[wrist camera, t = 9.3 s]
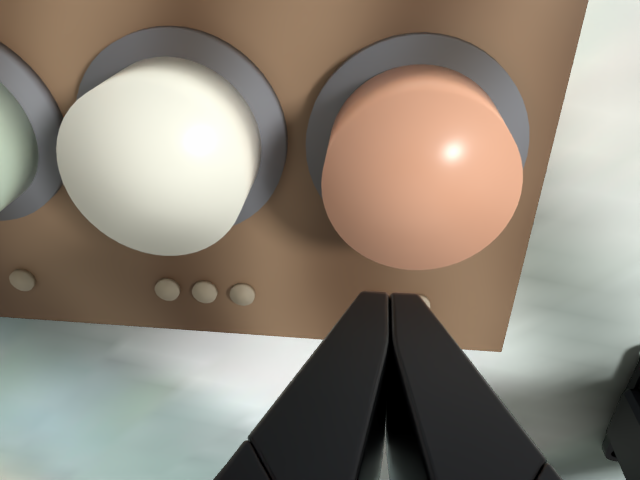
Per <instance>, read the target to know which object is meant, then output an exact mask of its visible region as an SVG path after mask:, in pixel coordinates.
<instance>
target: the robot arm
mask: <svg viewBox="0 0 640 480" xmlns="http://www.w3.org/2000/svg"><path fill="white" fill-rule="evenodd" d="M385 422H386V450H387V461H388V470H389V479H390V480H563V479H562V478H561V477H560V475H559V474H558V473H557V471H556V470H555V469H554V467H553V466H552V465H551V464H549V463H546V462H547V460H546V457H545V456H544V455H543V454H542V452H541V451H540V450H539V448H538V447H537V446H536V445H535V443H534V442H533V441H532V439H531V438H530V437H529V436H528V434H527V433H526V432H525V430H524V429H523V428H522V427H521V425H520V424H519V423H518V421H517V420H516V419H515V418H514V416H513V415H512V414H511V412H510V411H509V410H508V409H507V407H506V406H505V405H504V403H503V402H502V401H501V400H500V398H499V397H498V396H497V394H496V393H495V392H494V391H493V389H492V388H491V387H490V385H489V384H488V383H487V382H486V380H485V379H484V378H483V376H482V375H481V374H480V373H479V371H478V370H477V369H476V367H475V366H474V365H473V364H472V362H471V361H470V360H469V358H468V357H467V356H466V354H465V353H464V352H463V351H462V349H461V348H460V347H459V345H458V344H457V343H456V342H455V340H454V339H453V338H452V336H451V335H450V334H449V333H448V331H447V330H446V329H445V327H444V326H443V325H442V324H441V322H440V321H439V320H438V318H437V317H436V316H435V315H434V313H433V312H432V311H431V309H430V308H429V307H428V306H427V304H426V303H425V302H424V300H423V299H422V298H421V297H420V295H418V294H417V293H402V292H393V293H391V295H390V299H389V294H388V293H387V292H379V291H362V292H361V293H360V294H359V295H358V296H357V297H356V299H355V300H354V301H353V303H352V304H351V305H350V306H349V308H348V309H347V310H346V312H345V313H344V314H343V315H342V317H341V318H340V319H339V321H338V322H337V323H336V324H335V326H334V327H333V328H332V330H331V331H330V332H329V333H328V335H327V336H326V337H325V338H324V340H323V341H322V342H321V344H320V345H319V346H318V347H317V349H316V350H315V351H314V353H313V354H312V355H311V356H310V358H309V359H308V360H307V362H306V363H305V364H304V365H303V367H302V368H301V369H300V371H299V372H298V373H297V374H296V376H295V377H294V378H293V380H292V381H291V382H290V383H289V385H288V386H287V387H286V388H285V390H284V391H283V392H282V394H281V395H280V396H279V397H278V399H277V400H276V401H275V403H274V404H273V405H272V406H271V408H270V409H269V410H268V412H267V413H266V414H265V415H264V417H263V418H262V419H261V421H260V422H259V423H258V424H257V426H256V427H255V428H254V429H253V431H252V432H251V433H250V435H249V436H248V441H244V442H243V443H242V444H241V446H240V447H239V448H238V450H237V451H236V452H235V453H234V455H233V456H232V457H231V459H230V460H229V461H228V462H227V464H226V465H225V466H224V467H223V469H222V470H221V471H220V472H219V473H218V475H217V476H216V477H215V478H214V479H213V480H379V478H380V471H381V464H382V458H383V449H384V440H385ZM606 433H607V435H606V437H605V440H604V442H603V444H602V449H603V452H604V454H605V456H606V458H607V459H609V460H612V461H618V462H619V464H620V466H621V469H622V471H623V474H624V476H625V478H626V480H640V359H639V361H638V364H637V366H636V368H635V370H634V373H633V375H632V377H631V380H630V382H629V384H628V387H627V389H626V390H625V391H624V393H623V394H622V396H621V398H620V401H619V403H618V405H617V407H616V410H615V412H614V414H613V417H612V419H611V421H610V424H609V426H608V428H607V431H606Z"/></svg>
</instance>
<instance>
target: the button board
mask: <svg viewBox="0 0 640 480" xmlns="http://www.w3.org/2000/svg"><path fill="white" fill-rule="evenodd" d="M587 4H588V0H0V82H1V83H2V84H3V85H4V86H5V87H6V88H7V89H8V90H9V91H10V92H11V93H12V95H13V96H14V97H15V98H16V100H17V101H18V102H19V104H20V105H21V106H22V108H23V110H24V111H25V113H26V115H27V116H28V119H29V121H30V123H31V125H32V127H33V130H34V133H35V136H36V140H37V145H38V154H39V158H38V167H37V172H36V175H35V177H34V179H33V181H32V183H31V184H30V186H29V187H28V188H27V189H26V191H25V192H24V193H22V194H21V195H20V196H19V197H17V198H16V199H15V200H14V201H13V202H11V203H10V204H9V205H8V206H6V207H5V208H4V209H3V210H1V211H0V317H11V318H25V319H40V320H54V321H68V322H82V323H97V324H111V325H125V326H139V327H153V328H168V329H182V330H196V331H210V332H224V333H239V334H253V335H267V336H281V337H295V338H310V339H324V338H325V337H326V336H327V335H328V333H329V332H330V331H331V330H332V328H333V327H334V326H335V324H336V323H337V322H338V321H339V319H340V318H341V317H342V315H343V314H344V313H345V312H346V310H347V309H348V308H349V306H350V305H351V304H352V303H353V301H354V300H355V299H356V297H357V296H358V295H359V294H360V293H361V292H362V291H379V292H387V293H388V294H389V299H390V295H391V293H393V292H402V293H417V294H418V295H420V297H421V298H422V299H423V300H424V302H425V303H426V304H427V306H428V307H429V308H430V309H431V311H432V312H433V313H434V315H435V316H436V317H437V318H438V320H439V321H440V322H441V324H442V325H443V326H444V327H445V329H446V330H447V331H448V333H449V334H450V335H451V336H452V338H453V339H454V340H455V342H456V343H457V344H458V345H459V347H460V348H461V349H466V350H480V351H494V352H501V351H502V347H503V343H504V339H505V335H506V331H507V327H508V323H509V319H510V315H511V311H512V307H513V303H514V299H515V295H516V291H517V287H518V283H519V279H520V275H521V270H522V266H523V262H524V258H525V254H526V250H527V246H528V242H529V238H530V234H531V230H532V226H533V222H534V218H535V214H536V210H537V206H538V202H539V198H540V194H541V190H542V186H543V182H544V178H545V174H546V170H547V166H548V161H549V157H550V153H551V149H552V145H553V141H554V137H555V133H556V129H557V125H558V121H559V117H560V113H561V109H562V105H563V101H564V97H565V93H566V89H567V85H568V81H569V77H570V73H571V69H572V65H573V61H574V56H575V52H576V48H577V44H578V40H579V36H580V32H581V28H582V24H583V20H584V16H585V12H586V8H587ZM153 57H178V58H183V59H187V60H191V61H194V62H196V63H199V64H202V65H204V66H206V67H208V68H210V69H212V70H213V71H215V72H216V73H218V74H219V75H221V76H222V77H224V78H225V79H226V80H227V81H228V82H229V83H231V84H232V85H233V86H234V87H235V88H236V90H237V91H238V92H239V93H240V94H241V95H242V97H243V98H244V99H245V101H246V102H247V104H248V105H249V107H250V109H251V111H252V113H253V114H254V117H255V119H256V122H257V124H258V128H259V132H260V137H261V145H262V151H261V162H260V167H259V170H258V173H257V176H256V178H255V180H254V183H253V185H252V187H251V189H250V191H249V194H248V196H247V198H246V200H245V202H244V205H243V207H242V209H241V211H240V213H239V215H238V217H237V219H236V221H235V223H234V224H233V226H232V227H231V229H230V230H229V231H228V232H227V233H226V234H225V235H224V236H223V237H222V238H221V239H220V240H219V241H217V242H216V243H215V244H213V245H211V246H209V247H207V248H205V249H203V250H200V251H198V252H194V253H190V254H186V255H177V256H163V255H154V254H149V253H145V252H141V251H138V250H135V249H132V248H129V247H127V246H125V245H123V244H120V243H118V242H117V241H115V240H113V239H111V238H110V237H108V236H107V235H105V234H104V233H103V232H101V231H100V230H99V229H97V228H96V227H95V226H94V225H93V224H92V223H90V222H89V221H88V219H87V218H86V217H85V216H84V215H83V214H82V213H81V212H80V211H79V209H78V208H77V207H76V205H75V204H74V202H73V201H72V199H71V198H70V196H69V194H68V192H67V190H66V188H65V186H64V184H63V182H62V179H61V176H60V173H59V168H58V163H57V153H56V146H57V137H58V132H59V128H60V126H61V123H62V121H63V118H64V116H65V115H66V113H67V112H68V110H69V109H70V107H71V106H72V105H73V104H74V103H75V102H76V101H77V100H78V99H79V98H80V97H82V96H83V95H84V94H86V93H87V92H89V91H90V90H92V89H93V88H95V87H96V86H98V85H99V84H101V83H102V82H104V81H106V80H107V79H109V78H110V77H112V76H113V75H115V74H116V73H118V72H119V71H121V70H123V69H124V68H126V67H128V66H129V65H131V64H133V63H135V62H138V61H141V60H144V59H148V58H153ZM416 64H427V65H437V66H441V67H445V68H449V69H452V70H454V71H457V72H459V73H461V74H463V75H465V76H467V77H468V78H470V79H471V80H473V81H474V82H475V83H477V84H478V85H479V86H480V87H481V88H482V89H483V90H484V91H485V92H486V93H487V94H488V96H489V97H490V98H491V100H492V101H493V103H494V104H495V106H496V108H497V110H498V112H499V113H500V115H501V117H502V119H503V120H504V122H505V124H506V126H507V128H508V129H509V131H510V133H511V135H512V137H513V139H514V141H515V143H516V145H517V147H518V150H519V153H520V156H521V161H522V168H523V184H522V191H521V196H520V199H519V202H518V206H517V208H516V210H515V212H514V214H513V216H512V218H511V220H510V221H509V223H508V224H507V226H506V227H505V228H504V230H503V231H502V232H501V233H500V234H499V236H498V237H497V238H496V239H495V240H493V241H492V242H491V243H490V244H489V245H488V246H487V247H485V248H484V249H482V250H481V251H480V252H478V253H476V254H475V255H473V256H471V257H470V258H467V259H465V260H463V261H461V262H458V263H456V264H452V265H449V266H446V267H441V268H437V269H429V270H405V269H398V268H393V267H389V266H385V265H382V264H379V263H377V262H374V261H372V260H370V259H368V258H366V257H364V256H363V255H361V254H360V253H358V252H357V251H355V250H354V249H353V248H352V247H350V246H349V245H348V244H347V243H346V242H345V241H344V240H343V239H342V238H341V237H340V236H339V234H338V233H337V231H336V230H335V229H334V227H333V225H332V224H331V222H330V220H329V218H328V215H327V213H326V210H325V207H324V203H323V198H322V188H321V182H322V171H323V167H324V162H325V158H326V153H327V148H328V144H329V139H330V135H331V130H332V127H333V124H334V121H335V119H336V116H337V115H338V113H339V111H340V109H341V107H342V106H343V104H344V103H345V102H346V100H347V99H348V98H349V97H350V96H351V94H352V93H353V92H354V91H355V90H356V89H357V88H359V87H360V86H361V85H362V84H364V83H365V82H366V81H368V80H369V79H371V78H373V77H374V76H376V75H378V74H380V73H383V72H385V71H387V70H390V69H393V68H397V67H401V66H407V65H416Z"/></svg>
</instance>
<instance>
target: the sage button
mask: <svg viewBox="0 0 640 480" xmlns="http://www.w3.org/2000/svg"><path fill="white" fill-rule="evenodd" d="M38 158H39V154H38V145H37V140H36V136H35V133H34V130H33V127H32V125H31V123H30V121H29V119H28V116H27V115H26V113H25V111H24V110H23V108H22V106H21V105H20V104H19V102H18V101H17V100H16V98H15V97H14V96H13V95H12V93H11V92H10V91H9V90H8V89H7V88H6V87H5V86H4V85H3V84H2V83H1V82H0V211H1V210H3V209H4V208H5V207H6V206H8V205H9V204H10V203H11V202H13V201H14V200H15V199H16V198H17V197H19V196H20V195H21V194H22V193H24V192H25V191H26V189H27V188H28V187H29V186H30V184H31V183H32V181H33V179H34V177H35V175H36V172H37V167H38Z"/></svg>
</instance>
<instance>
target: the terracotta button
mask: <svg viewBox="0 0 640 480" xmlns="http://www.w3.org/2000/svg"><path fill="white" fill-rule="evenodd" d="M522 184H523V168H522V161H521V156H520V153H519V150H518V147H517V145H516V143H515V141H514V139H513V137H512V135H511V133H510V131H509V129H508V128H507V126H506V124H505V122H504V120H503V119H502V117H501V115H500V113H499V112H498V110H497V108H496V106H495V104H494V103H493V101H492V100H491V98H490V97H489V96H488V94H487V93H486V92H485V91H484V90H483V89H482V88H481V87H480V86H479V85H478V84H477V83H475V82H474V81H473V80H471V79H470V78H468V77H467V76H465V75H463V74H461V73H459V72H457V71H454V70H452V69H449V68H445V67H441V66H437V65H427V64H416V65H407V66H401V67H397V68H393V69H390V70H387V71H385V72H383V73H380V74H378V75H376V76H374V77H373V78H371V79H369V80H368V81H366V82H365V83H364V84H362V85H361V86H360V87H359V88H357V89H356V90H355V91H354V92H353V93H352V94H351V96H350V97H349V98H348V99H347V100H346V102H345V103H344V104H343V106H342V107H341V109H340V111H339V113H338V115H337V116H336V119H335V121H334V124H333V127H332V130H331V135H330V139H329V144H328V148H327V153H326V158H325V162H324V167H323V171H322V182H321V188H322V198H323V203H324V207H325V210H326V213H327V215H328V218H329V220H330V222H331V224H332V225H333V227H334V229H335V230H336V231H337V233H338V234H339V236H340V237H341V238H342V239H343V240H344V241H345V242H346V243H347V244H348V245H349V246H350V247H352V248H353V249H354V250H355V251H357V252H358V253H360V254H361V255H363V256H364V257H366V258H368V259H370V260H372V261H374V262H377V263H379V264H382V265H385V266H389V267H393V268H398V269H405V270H429V269H437V268H441V267H446V266H449V265H452V264H456V263H458V262H461V261H463V260H465V259H467V258H470V257H471V256H473V255H475V254H476V253H478V252H480V251H481V250H482V249H484V248H485V247H487V246H488V245H489V244H490V243H491V242H492V241H493V240H495V239H496V238H497V237H498V236H499V234H500V233H501V232H502V231H503V230H504V228H505V227H506V226H507V224H508V223H509V221H510V220H511V218H512V216H513V214H514V212H515V210H516V208H517V206H518V202H519V199H520V196H521V191H522Z"/></svg>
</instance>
